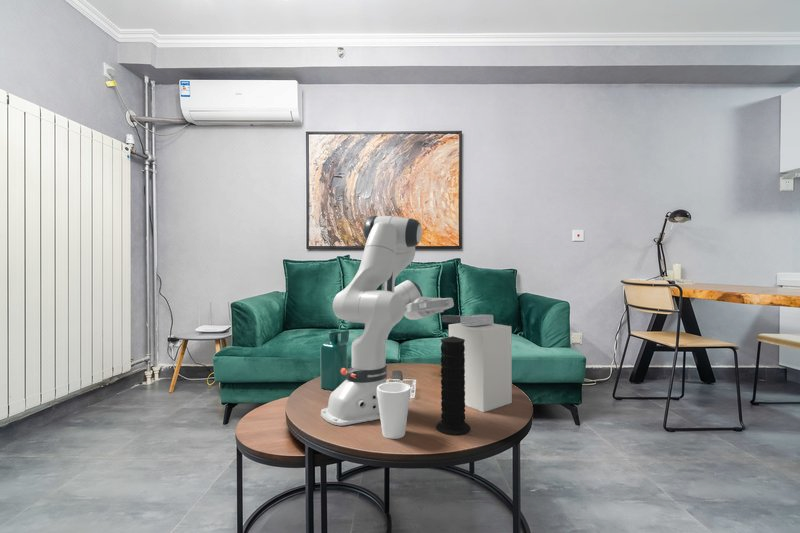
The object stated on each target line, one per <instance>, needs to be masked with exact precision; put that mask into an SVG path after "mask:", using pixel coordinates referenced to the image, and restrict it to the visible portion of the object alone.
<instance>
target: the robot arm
mask: <svg viewBox="0 0 800 533" xmlns="http://www.w3.org/2000/svg"><path fill="white" fill-rule="evenodd" d="M362 231H363V236H364V238H365V240H366V242H365V244H364V249H363V253H362V257H361V261H360V264H359V267H358V269H357V271H356V274H355V275H354V277H353V278H352V279H351V281H350V283H349V284H348V285H346V287H345V288H343V289H342V290H340V291H339V292H338V293H336V295H335V296H334V298H333V301H332V311H333V313H334V316H336V317H337V318H338V319H340V320H342V321H345V322H347V323H348V322H349V323H356V324H358V323H359V324H364V329H363V333H362V334H360V335H358V336H357V337H356V338H354V339H353V341H352V342H351V349H350V350H351V351H350V352H351V353H350V354H351V365H350V367H349V369H348V368H347V369H345V368H342V370H341V371H340V372H341V373H342V374H343V375H347V379H346V380H345V381H344V382H343V383H342V384H341V385H340V386H339V387H337V388H336V389H335V390H332V392H331V393H330V394H329V397H328V401H327V402H328V403H327V407H325V408H322V409H321V410H320V417H322V419H324V420H325V421H326V422H327V423H329V424H332V425H335V426H341V427H342V426H348V425H354V424H359V423H366V422H369V421H370V422H371V421H375V420H380V412H379V405H378V398H377V386H378V385H380V384H384V383H387V378H388V377H387V376H388V369H387V368H388V367H387V364H386V353H387V352H386V351H387V350H386V348H387V341H388V337H389V334H390V332H391V331H392V329H393V328H394V327H396V325H397V324H399V323H400V321H401V320H402V319H403V317H405V319H408V320H410V321H411V320H412V321H416V320H420V319H426V318H429V317H431V316H433V315H436V314H441V313H444V312H445V311H446V310H448V309H452V308H453V307H454V306H455V304H454V299H453V297H445V298H442V297H429V296H423V292H422V289H421V287H420V286H419V285H418V284H417V282H415V281H413V280H411V279H406V280H404V281H403V282H401V283H399V284H398V285H396V283H395V282H396V278H398V276H399V275H400V273H402V272H403V270H405V269H406V268H407V267H408V266H409V265H411V264H412V262H413V261H414V259H415V256H416V246H417V245H420V241H421V239H422V236H423V229H422V225H421V222H420V221H419V220H417V219H415V218H411V217H410V218H406V217H402V216H394V215H370V216H368V217H367V218H366V220H365V221H364V224H363V230H362ZM395 285H396V286H395ZM380 286H381V289H378V288H379V287H380Z"/></svg>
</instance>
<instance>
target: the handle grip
mask: <svg viewBox="0 0 800 533" xmlns="http://www.w3.org/2000/svg"><path fill="white" fill-rule="evenodd" d="M440 342H441V345H440V351H441V353H440V356H441V357H440V363H441V364H440V366H441V369H440V374H441V375H440V377H441V380H440V384H441V387H440V389H441V392H440V395H441V398H440V399H441V402H440V404H441V405H440V407H441V415H440V417H441V421H439V422H438V423H437V424H436V426H435V429H436V430H437V432H439V433H441V434H444V435H448V436H462V435H463V436H464V435H466V434H469V433H470V432H471V431H472V429H471V428H472V426H471V425H470V424H469V423H467V422H466V421H465V420H466V413H465V412H466V405H465V398H464V397H465V387H464V386H465V379H464V378H465V376H464V374H465V368H464V367H465V365H464V363H465V357H464V356H465V354H464V351H465V346H464V342H465V340H464V339H461V338H458V337H454V336H452V337H449V336H447V337H444V338H441V339H440Z"/></svg>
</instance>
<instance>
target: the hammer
mask: <svg viewBox="0 0 800 533" xmlns="http://www.w3.org/2000/svg"><path fill="white" fill-rule="evenodd" d="M441 322H442V323H450V324H457V323H461V325H462V326H479V325H486V324H495V323H494V315H493V314H473V315H472V314H471V315H455V314H454V315H453V314H445V315H444V314H443V315H441Z"/></svg>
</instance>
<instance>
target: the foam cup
mask: <svg viewBox="0 0 800 533" xmlns="http://www.w3.org/2000/svg"><path fill="white" fill-rule="evenodd" d="M377 398H378V405H379V412H380V419H379V420H380V426H381V433H382V436H383V437H384V438H387V439H390V440H391V439H393V440H394V439H395V440H396V439H400V438H403V437H405V435H406V429H407V422H408V421H407V419H408V413H409V405H410V398H411V386H410V384H407V383H405V382H399V381H398V382H396V381H391V382H386V383H384V384H380V385H378V386H377Z"/></svg>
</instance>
